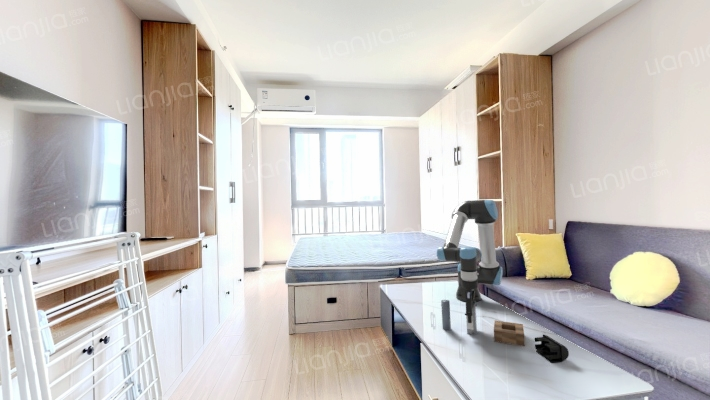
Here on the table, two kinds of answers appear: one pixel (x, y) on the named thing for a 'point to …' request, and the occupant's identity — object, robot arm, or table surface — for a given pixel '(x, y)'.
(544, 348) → the end cap
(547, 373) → the table surface
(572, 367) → the table surface
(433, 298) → the table surface
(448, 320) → the round peg
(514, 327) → the socket block
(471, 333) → the square peg
